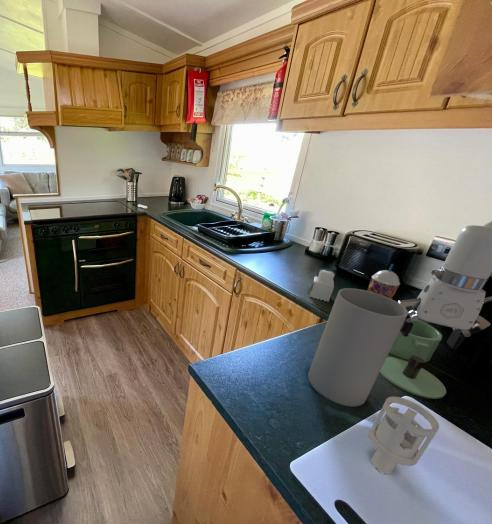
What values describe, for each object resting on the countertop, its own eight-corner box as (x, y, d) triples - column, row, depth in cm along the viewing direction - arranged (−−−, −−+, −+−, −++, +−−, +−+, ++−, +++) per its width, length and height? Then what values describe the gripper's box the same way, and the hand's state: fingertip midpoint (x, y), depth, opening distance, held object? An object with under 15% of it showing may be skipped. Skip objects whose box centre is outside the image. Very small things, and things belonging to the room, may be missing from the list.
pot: (414, 338, 96) (426, 317, 93) (442, 375, 80) (456, 351, 77) (366, 326, 101) (375, 305, 98) (382, 359, 85) (394, 335, 82)
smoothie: (356, 310, 112) (376, 263, 104) (361, 303, 117) (380, 258, 110) (383, 320, 106) (406, 270, 99) (386, 312, 112) (408, 265, 104)
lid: (429, 370, 82) (440, 351, 79) (456, 409, 69) (470, 388, 67) (368, 353, 87) (376, 335, 84) (382, 386, 74) (393, 366, 72)
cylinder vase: (296, 372, 77) (325, 289, 68) (334, 367, 80) (366, 287, 71) (335, 412, 66) (376, 319, 56) (377, 404, 69) (423, 314, 59)
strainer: (352, 460, 55) (382, 402, 50) (366, 441, 59) (395, 386, 54) (397, 494, 50) (436, 434, 45) (409, 472, 54) (447, 414, 48)
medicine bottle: (309, 290, 125) (317, 265, 121) (328, 295, 122) (337, 269, 118) (308, 297, 119) (317, 270, 115) (328, 302, 116) (338, 275, 112)
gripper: (420, 275, 67) (390, 336, 73) (523, 296, 60) (480, 360, 67) (408, 265, 73) (381, 322, 79) (499, 282, 67) (462, 342, 73)
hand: (426, 339), depth 73 cm, fingers open, 9 cm apart
